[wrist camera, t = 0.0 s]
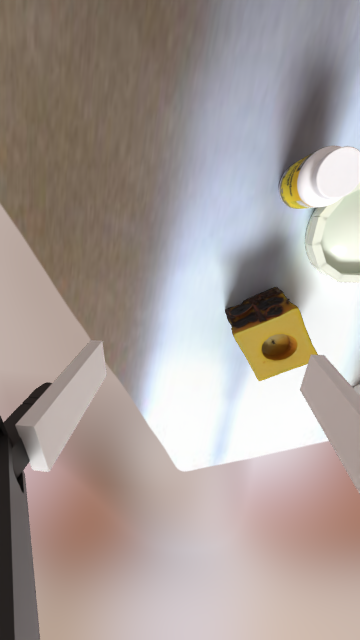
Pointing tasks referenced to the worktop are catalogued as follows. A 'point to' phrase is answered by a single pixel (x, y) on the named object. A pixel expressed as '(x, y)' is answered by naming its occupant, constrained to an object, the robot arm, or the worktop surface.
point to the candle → (270, 333)
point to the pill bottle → (321, 178)
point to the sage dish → (336, 238)
